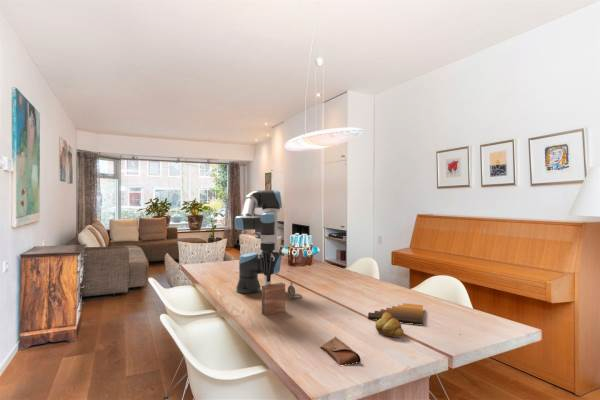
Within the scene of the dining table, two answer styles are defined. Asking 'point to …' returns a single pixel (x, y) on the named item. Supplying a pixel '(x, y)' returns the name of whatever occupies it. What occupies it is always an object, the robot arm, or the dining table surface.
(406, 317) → the pan flute
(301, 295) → the pocket watch
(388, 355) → the dining table surface
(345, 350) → the sunglasses case
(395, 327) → the bread roll
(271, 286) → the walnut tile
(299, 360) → the dining table surface
